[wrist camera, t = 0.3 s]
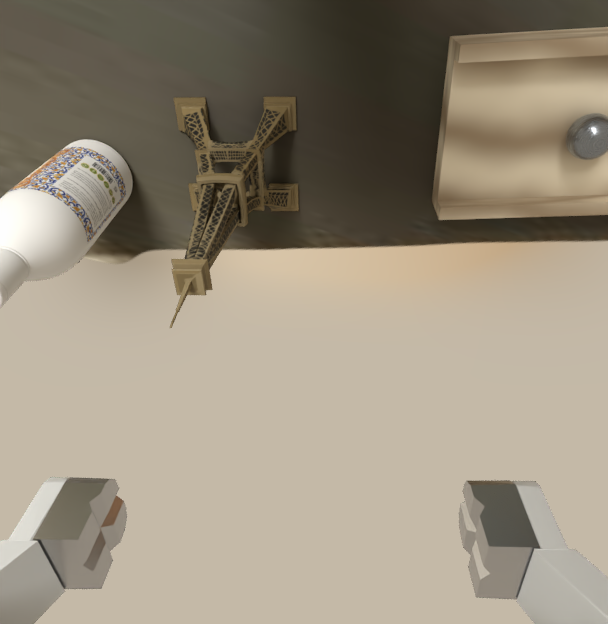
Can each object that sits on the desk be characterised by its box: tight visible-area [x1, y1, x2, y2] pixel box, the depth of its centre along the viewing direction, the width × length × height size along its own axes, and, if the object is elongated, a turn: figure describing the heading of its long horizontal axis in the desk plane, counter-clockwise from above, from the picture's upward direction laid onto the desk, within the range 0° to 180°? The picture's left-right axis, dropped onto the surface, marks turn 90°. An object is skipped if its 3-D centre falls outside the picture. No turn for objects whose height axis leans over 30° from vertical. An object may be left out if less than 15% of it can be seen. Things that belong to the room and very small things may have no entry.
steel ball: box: [566, 113, 608, 160], centre depth 38 cm, size 4×4×4 cm
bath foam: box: [0, 140, 133, 308], centre depth 39 cm, size 7×7×20 cm
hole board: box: [432, 27, 608, 220], centre depth 39 cm, size 14×25×6 cm, turn 93°
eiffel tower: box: [170, 97, 299, 328], centre depth 35 cm, size 11×11×25 cm
